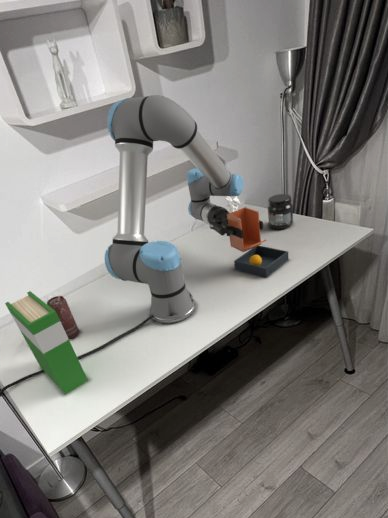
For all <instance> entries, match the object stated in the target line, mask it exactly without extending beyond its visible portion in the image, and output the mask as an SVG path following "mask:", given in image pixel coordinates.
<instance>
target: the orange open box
mask: <svg viewBox="0 0 388 518" xmlns="http://www.w3.org/2000/svg"><path fill="white" fill-rule="evenodd" d="M259 220H260V213H259V211H258V210H255V209H252V208H249V207H246V206H244V207H242V208H241V207H240V208H239V209H238V210H236V211H234V212H232V213H229V214H227V221H228V226H229V228H230V226H233V227H236V228H238V229H240V230H243V238H242V239H241V238H239V237H237V236H234V235H231V234H230V236H229V244H230V247H231V248H233V249H235V250H237V251H239V252H242V253H246V252H248V251H249V250H251V249H252V248H254V247H256V246H262V243H264V242H267V239H266V238H265V239H263V240H262V237H261V236H262V235H261V229H260V222H259Z"/></svg>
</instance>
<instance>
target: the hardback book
mask: <svg viewBox="0 0 388 518" xmlns="http://www.w3.org/2000/svg"><path fill="white" fill-rule="evenodd" d="M26 294H27V295H26V296H24V297H22V298H20V299H18V300H16V301H14V302H12V303H11V302H9V301H7V302H5V306H6V308H7V310H8V311H9V314H10V315H11V317H12V318H13V320H14V322H15V324H16V326H17V328H18V329H19V331H20V334H21V335H22V337H23V339H24V340H25V342H26V344H27V346H28V348H29V349H30V351H31V353H32V356H34V359H35V360H36V362H37V364H38V366H39V367H40V369H41V370H44V374H46V375H47V377H48V378H49V379H50V380H51V381H52V382H53V383H54V385H55V386H57V388H58V389H59V390H60V391H61V392H62V393H63V394H64V395H68V394H70V392H72V391H74V390H75V389H77V388H78V387H80V386H82V385H83V384H85V383H86V382H88V381H89V380H88V377H87V375H86V373H85V371H84V369H83V367H82V364H81V362H80V359H78V358H77V357H78V356H77V354H76V351H75V350H74V347H73V345H72V343H71V340H69V339H68V337H67V334H66V332H65V330H64V328H63V326H62V324H61V322H60V320H59V317H58V315H57V313H56V311H55V310H53V309H52V308H51V307H50V306H48V305H47V302H45V301H43V300H42V299H41V298H39V296H37V295H36V294H34V293H33V292H32V291H31V290H29V291H28V292H26Z"/></svg>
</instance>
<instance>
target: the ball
mask: <svg viewBox="0 0 388 518" xmlns="http://www.w3.org/2000/svg"><path fill="white" fill-rule="evenodd" d="M249 263H250V264H252V265H256V266H260V265H261V263H262V259H261V257H260V256H259V255H253V256H251V257H250V260H249Z"/></svg>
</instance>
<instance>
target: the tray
mask: <svg viewBox="0 0 388 518" xmlns="http://www.w3.org/2000/svg"><path fill="white" fill-rule="evenodd" d="M253 255H259V256H260V257H261V259H262V263H261V265H260V266H256V265H252V264H250V263H249V260H250V257H251V256H253ZM288 261H289V250H288V251H287V250H284V249H278V248H273V247H268V246H264V245H259V246H256V247H254V248H252V249H250V250H247V251H245V252H244V253H243V254H242V255H241V256H239V257H238V258H236V259H235V260H234V261H233V263H234V270H235V271H239V272H244V273H246V274H251V275H253V276H258V277H261V278H269V276H271V275H272V274H273V273H274V272H276V271H277V270H278V269H279V268H281V267H282V266H283V265H285V264H286V263H287V262H288Z"/></svg>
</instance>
